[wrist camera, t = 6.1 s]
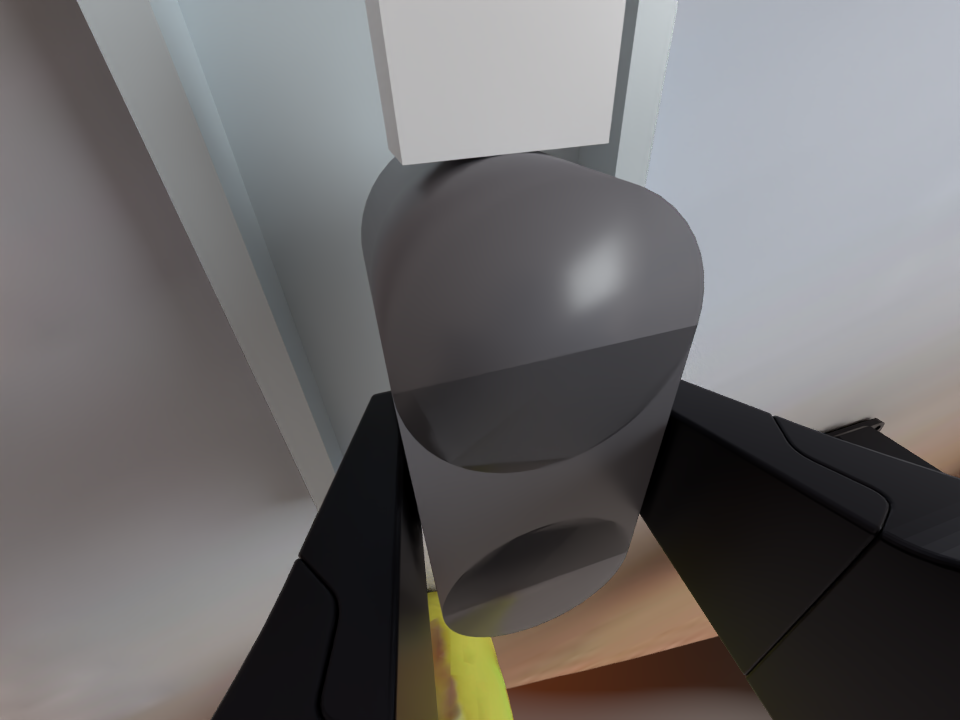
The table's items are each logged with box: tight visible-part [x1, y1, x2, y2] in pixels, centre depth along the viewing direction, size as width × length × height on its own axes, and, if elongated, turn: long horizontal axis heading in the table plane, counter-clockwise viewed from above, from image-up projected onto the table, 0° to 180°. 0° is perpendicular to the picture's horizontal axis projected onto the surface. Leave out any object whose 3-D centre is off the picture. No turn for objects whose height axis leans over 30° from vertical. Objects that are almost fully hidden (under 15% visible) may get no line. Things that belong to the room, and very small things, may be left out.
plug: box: [361, 0, 704, 637], centre depth 7 cm, size 11×4×4 cm, turn 2°
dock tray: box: [77, 0, 679, 511], centre depth 10 cm, size 15×9×2 cm, turn 2°
